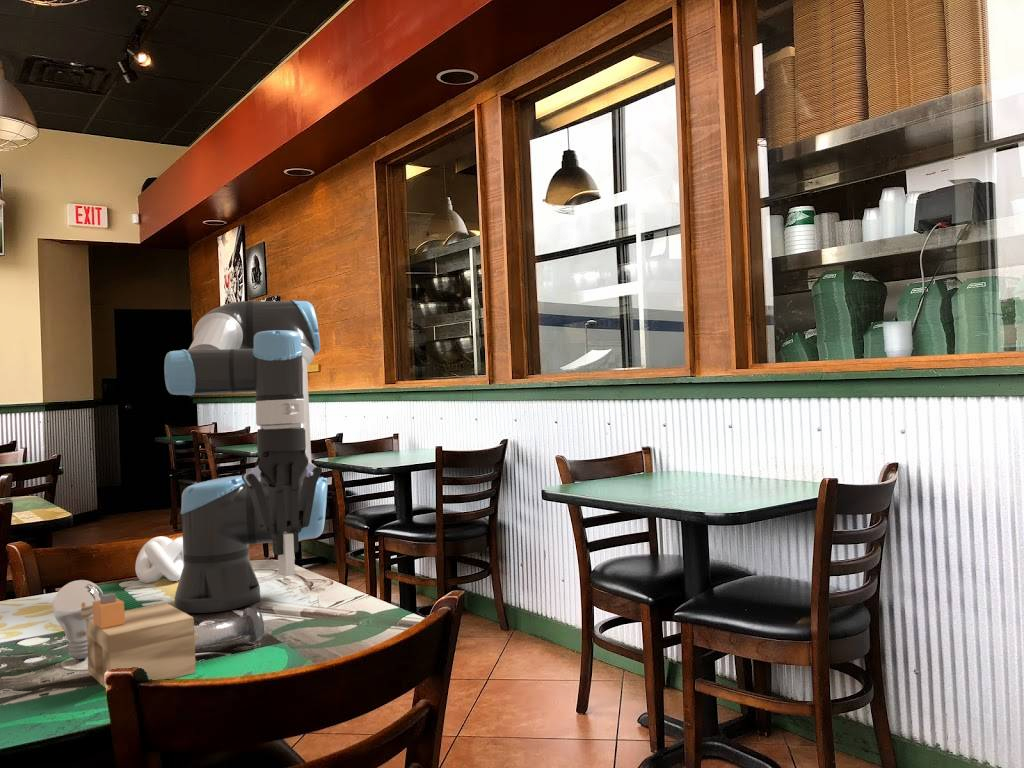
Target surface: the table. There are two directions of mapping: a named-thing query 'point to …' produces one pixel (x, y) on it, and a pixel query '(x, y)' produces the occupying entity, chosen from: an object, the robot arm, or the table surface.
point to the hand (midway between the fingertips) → (286, 574)
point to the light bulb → (76, 614)
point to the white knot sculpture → (160, 559)
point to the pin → (231, 629)
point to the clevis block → (144, 643)
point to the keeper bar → (108, 611)
